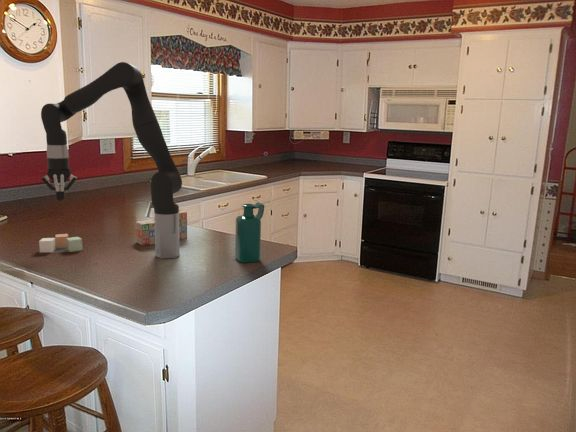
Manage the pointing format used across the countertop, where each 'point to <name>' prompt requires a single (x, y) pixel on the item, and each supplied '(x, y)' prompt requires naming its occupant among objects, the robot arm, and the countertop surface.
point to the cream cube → (47, 244)
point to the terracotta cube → (61, 240)
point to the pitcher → (248, 234)
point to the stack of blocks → (147, 229)
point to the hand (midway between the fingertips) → (61, 200)
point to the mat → (59, 250)
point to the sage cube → (74, 244)
